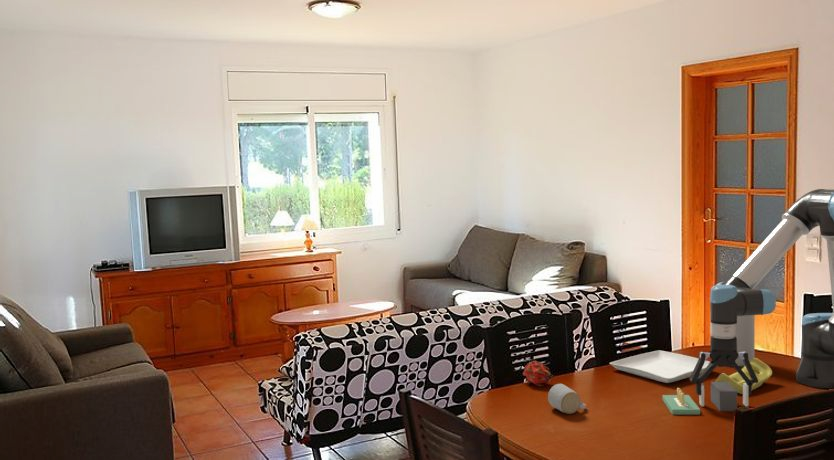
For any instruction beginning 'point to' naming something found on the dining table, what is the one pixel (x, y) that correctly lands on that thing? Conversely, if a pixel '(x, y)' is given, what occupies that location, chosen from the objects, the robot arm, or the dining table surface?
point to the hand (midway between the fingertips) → (723, 405)
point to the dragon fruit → (537, 373)
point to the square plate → (659, 366)
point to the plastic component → (737, 381)
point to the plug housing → (723, 396)
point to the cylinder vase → (745, 337)
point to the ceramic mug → (564, 399)
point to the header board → (680, 403)
